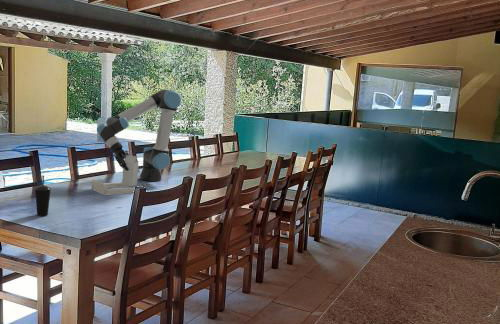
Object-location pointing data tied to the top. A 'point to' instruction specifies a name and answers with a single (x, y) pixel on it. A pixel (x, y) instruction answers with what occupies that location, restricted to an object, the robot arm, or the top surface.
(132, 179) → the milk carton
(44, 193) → the drinking cup
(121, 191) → the bay
